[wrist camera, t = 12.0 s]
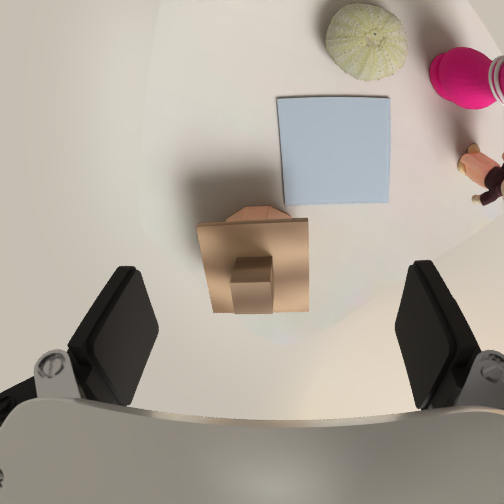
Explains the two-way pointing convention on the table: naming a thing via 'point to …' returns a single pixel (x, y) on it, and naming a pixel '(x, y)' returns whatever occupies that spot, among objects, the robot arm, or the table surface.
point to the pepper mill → (468, 78)
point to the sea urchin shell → (366, 41)
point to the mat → (335, 149)
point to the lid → (256, 265)
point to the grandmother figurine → (483, 174)
